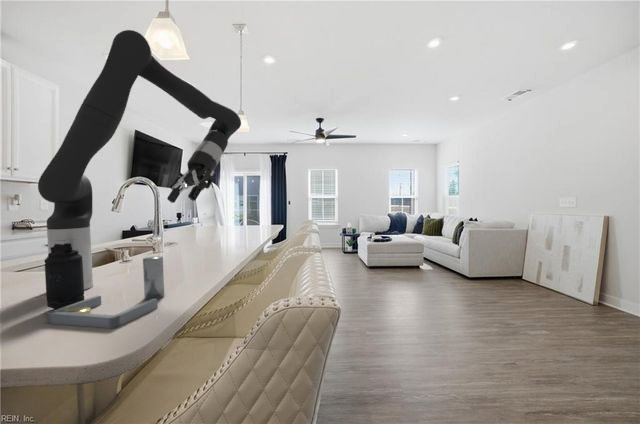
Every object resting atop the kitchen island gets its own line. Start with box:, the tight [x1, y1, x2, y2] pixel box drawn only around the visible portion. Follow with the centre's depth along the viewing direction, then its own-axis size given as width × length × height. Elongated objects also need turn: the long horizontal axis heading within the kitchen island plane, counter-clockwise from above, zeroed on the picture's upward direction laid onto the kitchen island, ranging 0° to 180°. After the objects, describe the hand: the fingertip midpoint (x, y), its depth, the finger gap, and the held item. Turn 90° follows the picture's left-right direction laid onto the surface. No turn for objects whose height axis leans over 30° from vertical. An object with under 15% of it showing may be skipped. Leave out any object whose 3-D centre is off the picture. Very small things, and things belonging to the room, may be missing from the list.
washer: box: [67, 307, 92, 314], centre depth 63 cm, size 4×4×2 cm
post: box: [142, 255, 165, 301], centre depth 75 cm, size 4×4×10 cm
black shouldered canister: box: [44, 243, 85, 310], centre depth 68 cm, size 7×7×15 cm
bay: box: [44, 295, 158, 329], centre depth 64 cm, size 16×11×2 cm
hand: (180, 200), depth 84 cm, fingers open, 8 cm apart
